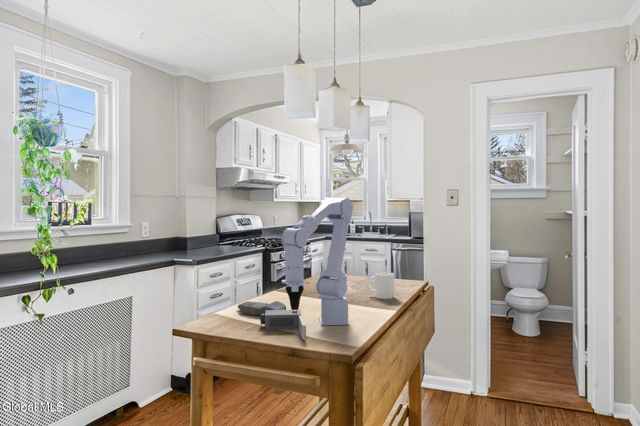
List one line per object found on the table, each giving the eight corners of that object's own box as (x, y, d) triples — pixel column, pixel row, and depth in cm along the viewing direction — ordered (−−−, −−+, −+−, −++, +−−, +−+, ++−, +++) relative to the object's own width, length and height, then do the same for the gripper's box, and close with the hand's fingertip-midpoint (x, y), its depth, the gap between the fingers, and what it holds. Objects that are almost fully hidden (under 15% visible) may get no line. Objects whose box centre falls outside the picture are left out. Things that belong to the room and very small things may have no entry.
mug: (364, 297, 189) (364, 274, 188) (370, 293, 196) (370, 270, 196) (391, 300, 184) (391, 276, 183) (396, 296, 191) (396, 272, 191)
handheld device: (245, 307, 174) (245, 296, 173) (288, 314, 164) (288, 302, 164) (230, 313, 165) (230, 301, 165) (274, 321, 156) (274, 308, 156)
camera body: (300, 323, 152) (300, 307, 151) (300, 329, 146) (300, 312, 145) (261, 324, 151) (261, 308, 150) (260, 330, 145) (260, 313, 144)
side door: (298, 328, 145) (298, 315, 145) (302, 328, 145) (302, 315, 145) (302, 339, 134) (302, 325, 134) (306, 339, 135) (306, 325, 134)
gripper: (281, 262, 143) (282, 303, 144) (281, 271, 128) (281, 316, 129) (303, 262, 143) (303, 302, 144) (305, 270, 129) (305, 315, 130)
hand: (294, 309), depth 137 cm, fingers closed
